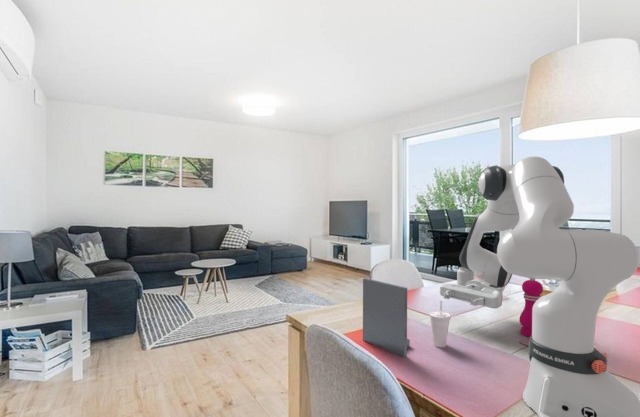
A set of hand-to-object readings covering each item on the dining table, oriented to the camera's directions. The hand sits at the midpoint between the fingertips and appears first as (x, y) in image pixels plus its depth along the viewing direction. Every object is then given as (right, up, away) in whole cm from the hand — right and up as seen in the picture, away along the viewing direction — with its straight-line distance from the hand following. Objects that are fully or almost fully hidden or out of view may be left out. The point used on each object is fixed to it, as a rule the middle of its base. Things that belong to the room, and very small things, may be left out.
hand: (458, 299), depth 113 cm
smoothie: (-9, -12, -8) cm, 17 cm away
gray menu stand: (-24, -12, -8) cm, 28 cm away
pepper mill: (+25, -12, 0) cm, 27 cm away
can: (+25, -11, +53) cm, 60 cm away
